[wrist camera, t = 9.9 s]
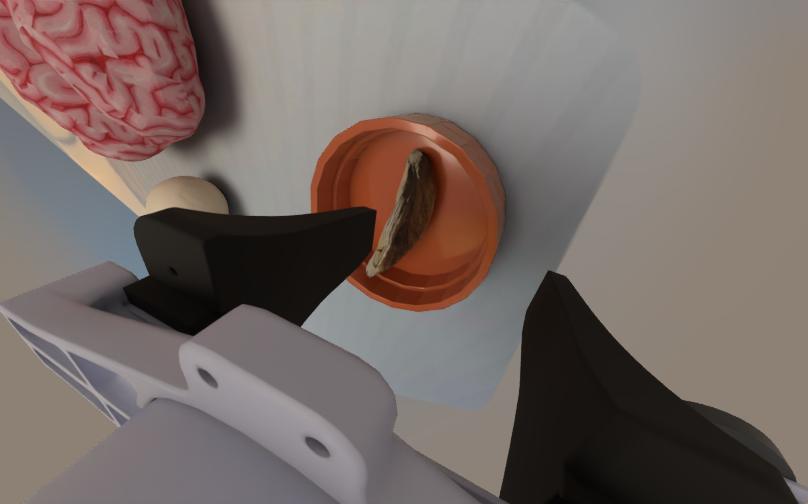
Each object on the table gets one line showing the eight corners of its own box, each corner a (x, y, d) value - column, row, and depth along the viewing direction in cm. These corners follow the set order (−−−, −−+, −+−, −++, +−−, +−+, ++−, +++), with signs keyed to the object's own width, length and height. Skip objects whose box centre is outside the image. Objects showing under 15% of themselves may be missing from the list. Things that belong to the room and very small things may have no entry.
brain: (129, -178, 19) (-179, -378, 11) (264, 109, 25) (128, 116, 17) (58, -7, 28) (-135, -47, 20) (168, 171, 34) (51, 194, 26)
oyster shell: (427, 173, 25) (389, 280, 26) (389, 155, 24) (350, 269, 24) (466, 165, 20) (417, 301, 20) (421, 141, 18) (369, 288, 19)
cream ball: (230, 240, 35) (173, 266, 30) (190, 189, 34) (123, 207, 29) (254, 216, 31) (194, 241, 26) (210, 158, 30) (137, 171, 25)
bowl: (538, 140, 18) (536, 152, 14) (473, 302, 25) (461, 338, 21) (349, 95, 21) (308, 95, 18) (341, 249, 28) (311, 272, 25)
